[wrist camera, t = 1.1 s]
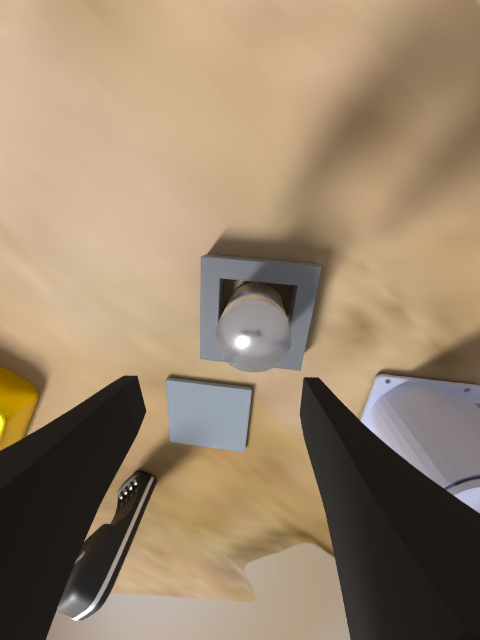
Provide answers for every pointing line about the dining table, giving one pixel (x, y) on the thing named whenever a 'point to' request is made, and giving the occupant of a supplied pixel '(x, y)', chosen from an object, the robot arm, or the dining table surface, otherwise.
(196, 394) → the mat
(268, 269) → the frame
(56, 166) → the dining table surface
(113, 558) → the battery charger
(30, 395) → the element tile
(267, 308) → the shiny metal cylinder
